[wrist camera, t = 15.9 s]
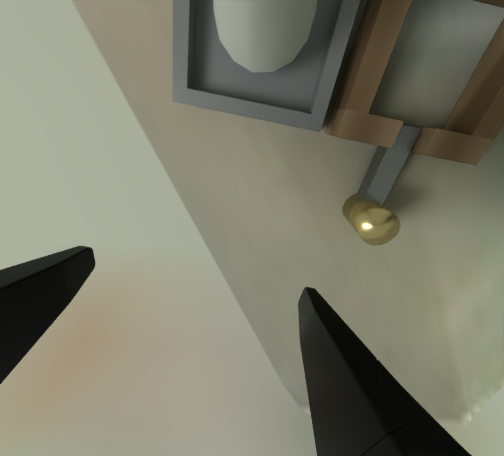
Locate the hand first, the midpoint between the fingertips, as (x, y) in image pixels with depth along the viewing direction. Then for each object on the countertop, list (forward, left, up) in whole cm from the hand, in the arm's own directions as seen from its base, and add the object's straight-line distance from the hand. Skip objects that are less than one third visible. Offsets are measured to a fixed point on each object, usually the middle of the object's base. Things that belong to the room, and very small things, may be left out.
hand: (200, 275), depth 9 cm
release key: (-12, -3, -13) cm, 18 cm away
